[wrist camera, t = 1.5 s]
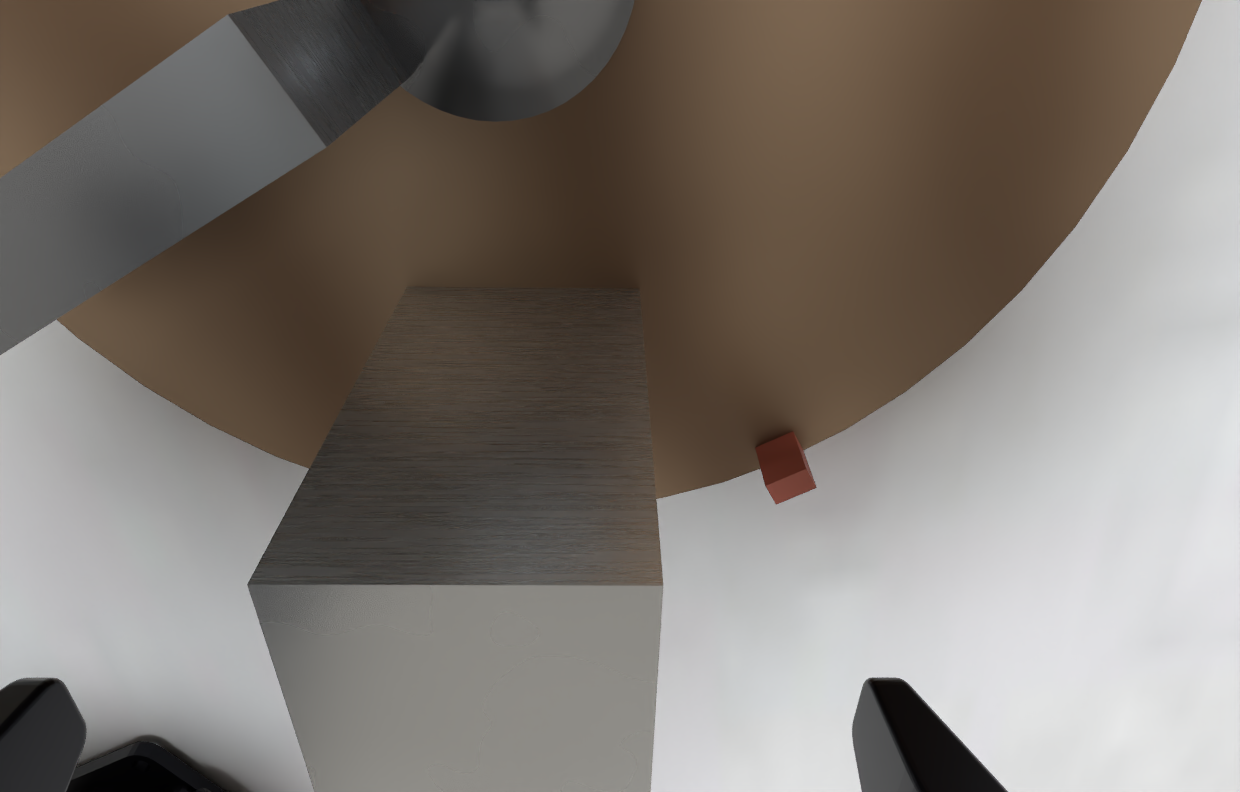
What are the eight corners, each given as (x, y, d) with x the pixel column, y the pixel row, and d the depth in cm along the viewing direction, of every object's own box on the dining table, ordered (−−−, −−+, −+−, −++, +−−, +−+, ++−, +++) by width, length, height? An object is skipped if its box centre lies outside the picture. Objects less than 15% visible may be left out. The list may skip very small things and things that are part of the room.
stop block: (634, 473, 16) (649, 818, 10) (432, 472, 16) (323, 819, 10) (639, 288, 14) (663, 585, 8) (406, 285, 13) (247, 585, 8)
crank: (542, -286, 9) (485, -458, 5) (682, 11, 11) (728, 79, 7) (-64, 166, 12) (-445, 313, 8) (121, 349, 14) (-104, 553, 9)
